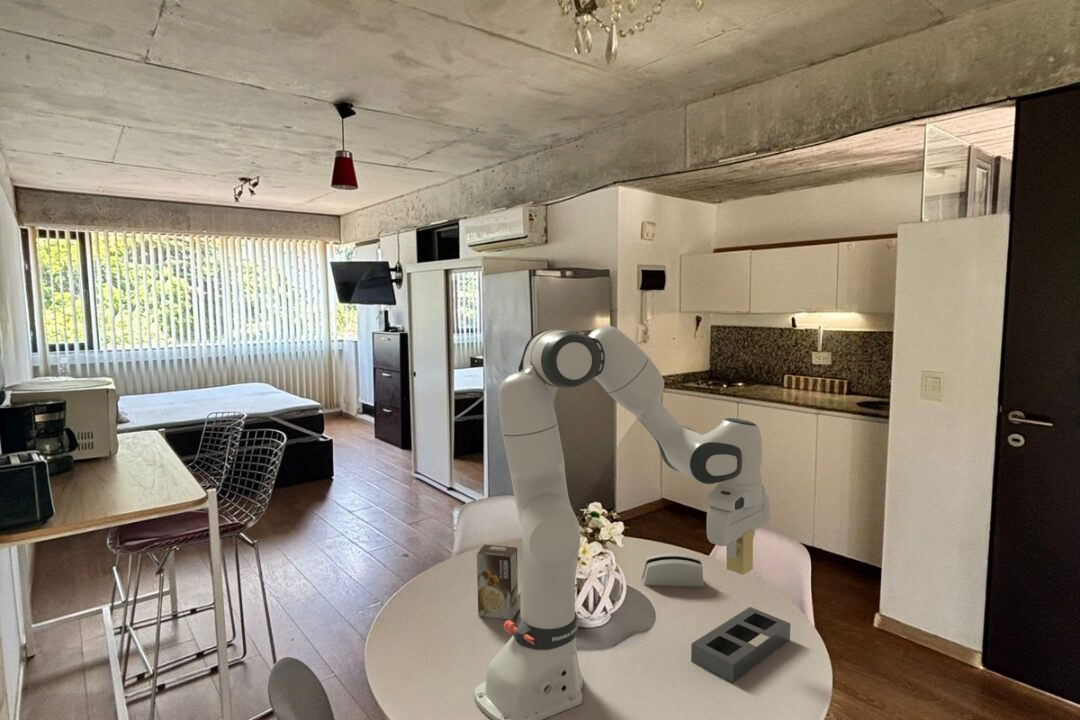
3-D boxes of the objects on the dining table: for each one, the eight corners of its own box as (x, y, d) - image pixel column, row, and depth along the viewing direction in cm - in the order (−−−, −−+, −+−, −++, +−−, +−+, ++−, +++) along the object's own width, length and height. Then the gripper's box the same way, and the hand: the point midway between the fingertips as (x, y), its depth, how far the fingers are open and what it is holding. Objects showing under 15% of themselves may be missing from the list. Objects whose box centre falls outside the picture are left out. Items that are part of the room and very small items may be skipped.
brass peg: (743, 574, 127) (743, 534, 126) (726, 569, 130) (726, 529, 129) (752, 569, 130) (753, 529, 129) (736, 563, 133) (736, 524, 132)
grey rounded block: (700, 578, 166) (703, 550, 162) (703, 591, 162) (707, 563, 158) (640, 576, 167) (642, 549, 163) (642, 589, 163) (644, 561, 159)
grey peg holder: (732, 683, 119) (733, 664, 119) (691, 661, 127) (691, 643, 126) (789, 640, 135) (790, 622, 134) (749, 622, 142) (750, 606, 142)
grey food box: (519, 608, 150) (519, 546, 148) (512, 620, 143) (511, 557, 142) (485, 603, 152) (484, 543, 150) (476, 616, 146) (475, 553, 144)
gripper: (751, 479, 137) (750, 536, 139) (701, 499, 124) (701, 562, 125) (777, 485, 133) (776, 544, 134) (728, 506, 119) (727, 572, 121)
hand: (739, 553), depth 129 cm, fingers closed on brass peg, 4 cm apart
